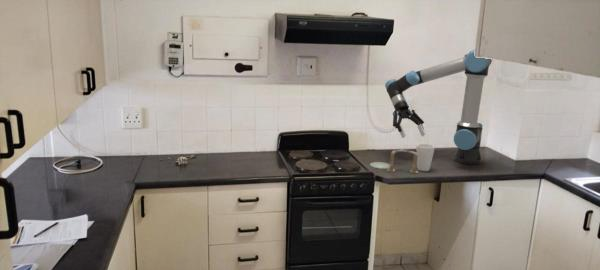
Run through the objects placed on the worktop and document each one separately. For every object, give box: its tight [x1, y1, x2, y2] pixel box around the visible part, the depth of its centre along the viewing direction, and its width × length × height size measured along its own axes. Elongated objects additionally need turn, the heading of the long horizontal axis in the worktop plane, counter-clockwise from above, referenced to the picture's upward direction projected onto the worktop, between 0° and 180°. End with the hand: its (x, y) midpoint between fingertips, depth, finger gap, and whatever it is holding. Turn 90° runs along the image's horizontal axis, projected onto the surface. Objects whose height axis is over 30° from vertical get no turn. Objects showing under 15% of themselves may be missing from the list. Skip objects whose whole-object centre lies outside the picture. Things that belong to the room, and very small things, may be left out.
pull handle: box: [386, 148, 419, 174], centre depth 259 cm, size 16×7×11 cm, turn 86°
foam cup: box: [415, 143, 436, 172], centre depth 264 cm, size 10×9×13 cm
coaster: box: [369, 161, 390, 170], centre depth 268 cm, size 11×11×1 cm
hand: (414, 136), depth 270 cm, fingers open, 13 cm apart
